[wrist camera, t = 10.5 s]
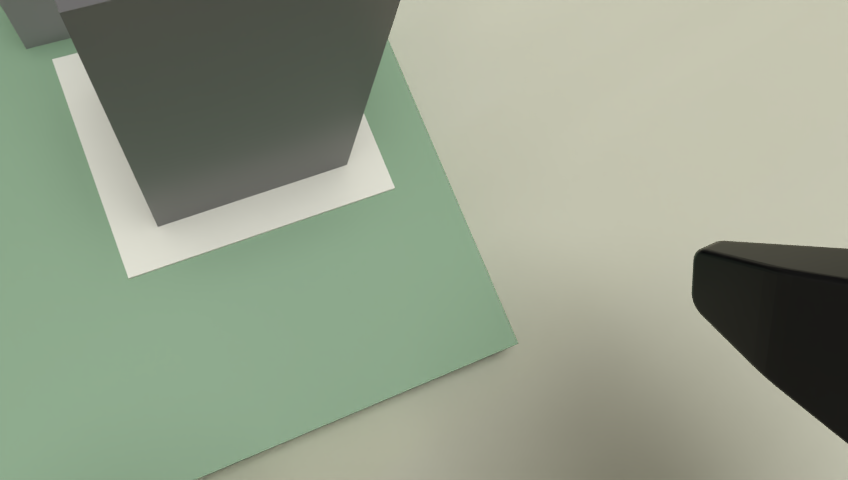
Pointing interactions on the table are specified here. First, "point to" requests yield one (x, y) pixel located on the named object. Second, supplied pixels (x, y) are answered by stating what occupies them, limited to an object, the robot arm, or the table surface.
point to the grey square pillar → (229, 90)
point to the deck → (212, 285)
